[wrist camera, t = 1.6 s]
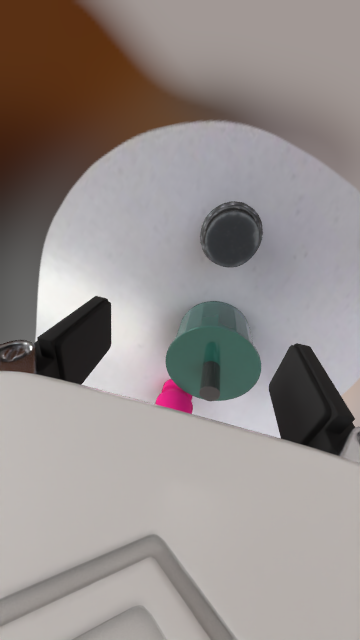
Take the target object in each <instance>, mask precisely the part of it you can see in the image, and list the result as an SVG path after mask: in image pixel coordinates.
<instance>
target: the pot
mask: <svg viewBox="0 0 360 640" xmlns="http://www.w3.org/2000/svg"><path fill="white" fill-rule="evenodd" d="M207 325H213V326H222V327H226V328H230V329H232V330H234V331H237V332H238V333H240V334H242V335H243V336H245V337H246V338H247V339H248V340H250V341H251V342H252V344H253V340H252V335H251V331H250V327H249V325H248V322H247V320H246V318H245V316H244V315H243V314H242V313H241V312H240V311H239V310H238V309H237V308H235V307H233V306H232V305H229V304H227V303H223V302H217V301H211V302H205V303H201V304H198V305H196V306H194V307H193V308H191V309H190V310H189V311H188V312H187V313H186V314H185V316H184V317H183V319H182V322H181V325H180V328H179V330H178V333H177V336H179V335H180V334H181V333H183V332H185V331H187V330H189V329H191V328H195V327H199V326H207ZM177 336H176V337H177ZM253 345H254V344H253Z"/></svg>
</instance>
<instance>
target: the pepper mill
mask: <svg viewBox="0 0 360 640" xmlns="http://www.w3.org/2000/svg"><path fill="white" fill-rule="evenodd" d="M191 400H192V395H190V394H188V393H186V392H185V391H183V390H182V389H181V388H179V387H178V386H177V385H176V384H175V383H174V382H173V380H172V379H170V380H168V381H167V382H166V383H165V384H164V386H163V389H162V393H161V394H160V395H159V396H158V398H157V400H156V405H160V406H163V407H167V408H171V409H175V410H178V411H182V412H186V413H189V414H192V410H193V405H192V402H191Z"/></svg>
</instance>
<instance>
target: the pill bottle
mask: <svg viewBox="0 0 360 640" xmlns="http://www.w3.org/2000/svg"><path fill="white" fill-rule="evenodd" d="M262 235H263V232H262V223H261V220H260V218H259V215H258V214H257V213H256V212H255V210H254V209H253V208H251V207H250V206H248V205H247V204H244V203H242V202H228V203H224V204H221V205H219V206H218V207H216V208H215V209H214V210H212V211H211V212H210V214H209V215H208V216H207V217H206V219H205V221H204V223H203V225H202V229H201V234H200V240H201V245H202V249H203V251H204V253H205V255H206V256H207V257H208V258H209V259H210V260H211V261H212V262H214V263H215V264H217V265H220V266H223V267H237V266H240V265H242V264H244V263H246V262H247V261H248V260H249V259H250V258H251V257H252V256H253V255H254V254H255V253H256V251H257V249H258V248H259V246H260V243H261V240H262Z"/></svg>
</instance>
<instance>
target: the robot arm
mask: <svg viewBox="0 0 360 640" xmlns="http://www.w3.org/2000/svg"><path fill="white" fill-rule="evenodd" d="M110 346H111V303H110V302H108V299H106V298H102V297H98V296H95V297H94V298H92V299H91V300H89V301H88V302H87V303H85V304H84V305H82V306H81V307H80V308H78V309H77V310H75V311H74V312H73V313H71V314H70V315H68V316H67V317H66V318H64V319H63V320H61V321H60V322H59V323H57V324H56V325H54V326H53V327H52V328H50V329H49V330H47V331H46V332H45V333H43V334H42V335H40V336H39V337H38V341H37V342H35V343H34V344H33V343H32V342H30V341H26V340H15V341H9V342H6V343H3V344H0V640H360V427H355V426H354V425H353V423H352V422H353V421H354V420H355V418H354V417H353V415H352V413H351V412H350V410H349V409H348V407H347V406H346V404H345V402H344V401H343V399H342V397H341V396H340V394H339V392H338V391H337V389H336V388H335V386H334V384H333V383H332V381H331V380H330V378H329V376H328V375H327V373H326V371H325V370H324V368H323V367H322V365H321V363H320V362H319V360H318V359H317V357H316V355H315V354H314V352H313V350H312V349H311V347H310V346H306V345H302V344H298V343H297V344H295V345H294V346H293V345H291V346H290V347H289V349H288V351H287V353H286V355H285V356H284V358H283V360H282V362H281V364H280V366H279V367H278V369H277V371H276V373H275V375H274V377H273V378H272V380H271V382H270V384H269V392H270V396H271V400H272V404H273V408H274V412H275V416H276V420H277V424H278V428H279V432H280V436H281V439H280V438H277V437H273V436H270V435H266V434H262V433H259V432H255V431H252V430H248V429H244V428H241V427H237V426H233V425H230V424H226V423H223V422H219V421H215V420H212V419H208V418H204V417H200V416H197V415H193V414H189V413H186V412H182V411H178V410H175V409H171V408H167V407H163V406H160V405H156V404H152V403H148V402H145V401H141V400H137V399H133V398H130V397H126V396H122V395H118V394H114V393H111V392H107V391H103V390H99V389H95V388H92V387H88V386H84V385H81V384H82V383H83V382H84V381H85V379H86V378H87V377H88V376H89V374H90V373H91V372H92V370H93V369H94V368H95V367H96V365H97V364H98V363H99V362H100V360H101V359H102V358H103V356H104V355H105V354H106V353H107V351H108V350H109V349H110Z"/></svg>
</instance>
